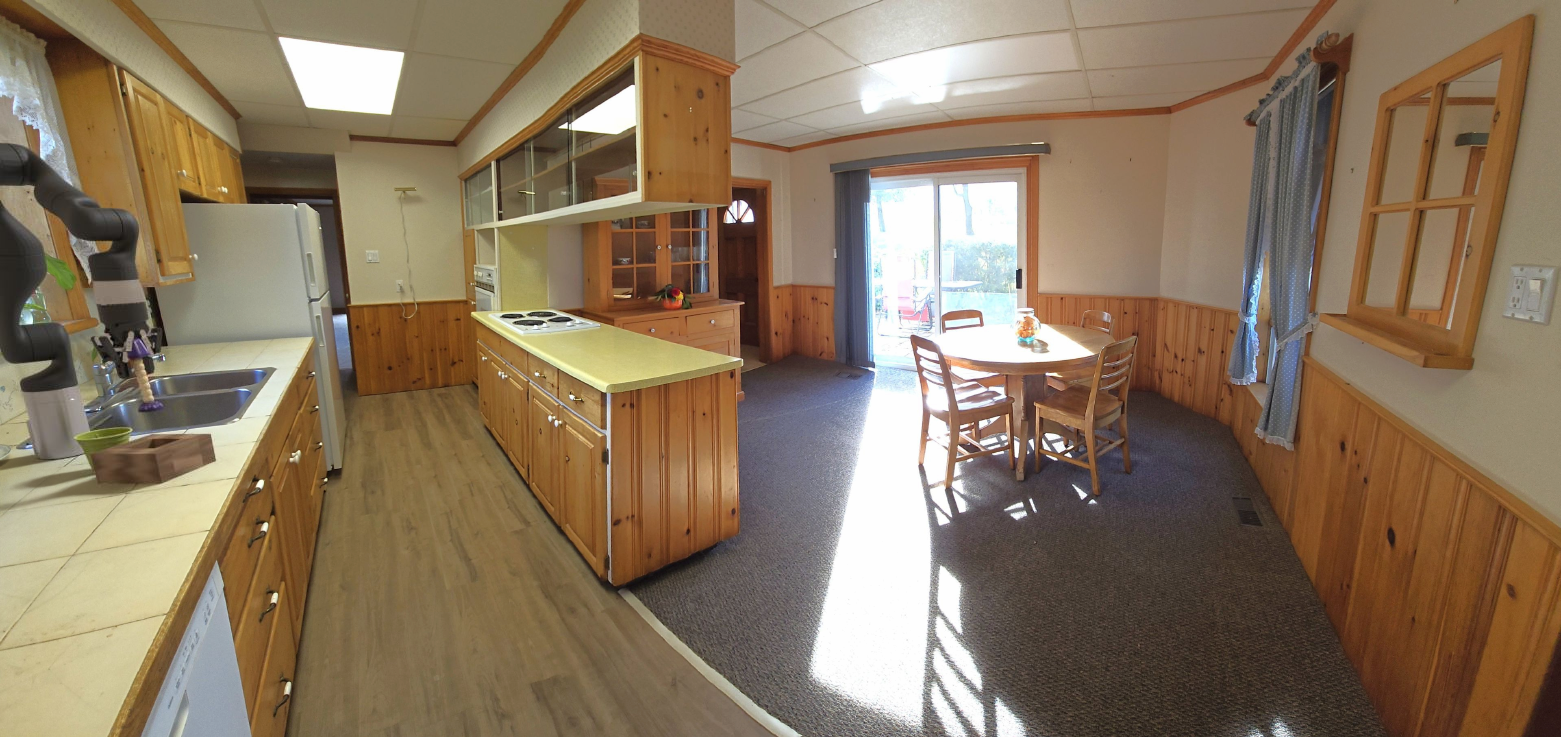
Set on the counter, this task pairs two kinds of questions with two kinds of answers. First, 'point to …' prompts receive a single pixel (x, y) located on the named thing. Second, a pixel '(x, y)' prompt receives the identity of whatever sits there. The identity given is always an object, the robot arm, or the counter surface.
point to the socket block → (153, 458)
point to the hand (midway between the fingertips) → (137, 375)
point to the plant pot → (102, 440)
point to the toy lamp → (142, 376)
